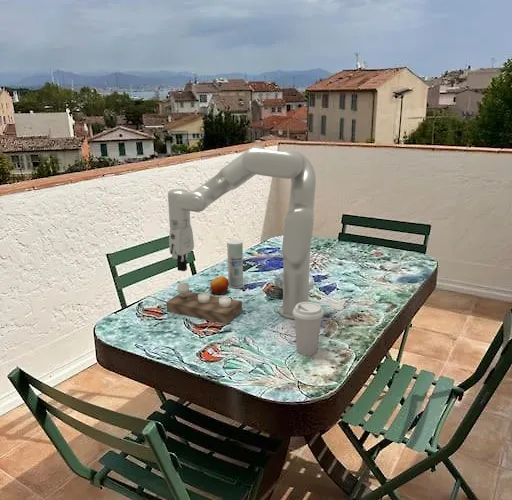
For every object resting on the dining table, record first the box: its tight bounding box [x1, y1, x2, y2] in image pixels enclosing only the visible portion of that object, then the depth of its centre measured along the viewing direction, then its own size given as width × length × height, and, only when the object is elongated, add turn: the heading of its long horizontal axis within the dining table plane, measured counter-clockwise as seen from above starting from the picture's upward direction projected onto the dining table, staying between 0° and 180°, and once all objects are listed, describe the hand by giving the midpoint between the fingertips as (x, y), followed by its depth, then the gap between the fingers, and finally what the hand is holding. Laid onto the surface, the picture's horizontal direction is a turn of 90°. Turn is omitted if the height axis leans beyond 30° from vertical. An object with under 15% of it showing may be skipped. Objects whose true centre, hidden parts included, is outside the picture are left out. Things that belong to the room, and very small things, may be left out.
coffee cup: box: [293, 301, 324, 356], centre depth 143 cm, size 10×10×15 cm
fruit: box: [209, 275, 229, 295], centre depth 191 cm, size 8×8×8 cm
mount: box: [165, 291, 243, 325], centre depth 173 cm, size 26×12×4 cm, turn 65°
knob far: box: [177, 282, 190, 298], centre depth 175 cm, size 4×4×5 cm
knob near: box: [219, 296, 231, 308], centre depth 169 cm, size 4×4×5 cm
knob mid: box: [198, 292, 211, 304], centre depth 173 cm, size 4×4×5 cm
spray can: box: [226, 239, 244, 290], centre depth 195 cm, size 6×6×20 cm
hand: (182, 270), depth 173 cm, fingers closed
